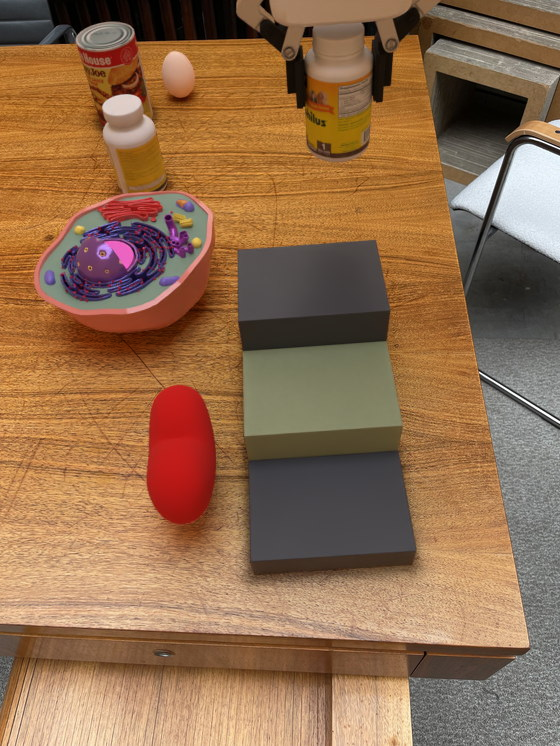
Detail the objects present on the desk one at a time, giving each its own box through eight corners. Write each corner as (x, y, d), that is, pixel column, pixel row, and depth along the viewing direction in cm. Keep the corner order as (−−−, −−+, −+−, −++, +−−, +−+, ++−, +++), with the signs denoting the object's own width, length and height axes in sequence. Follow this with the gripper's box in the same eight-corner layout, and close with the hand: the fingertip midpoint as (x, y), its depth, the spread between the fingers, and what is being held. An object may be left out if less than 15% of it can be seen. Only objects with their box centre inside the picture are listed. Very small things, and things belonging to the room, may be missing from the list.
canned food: (90, 118, 95) (64, 36, 86) (134, 97, 98) (114, 16, 88) (118, 139, 91) (94, 56, 82) (163, 117, 94) (145, 34, 85)
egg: (173, 108, 96) (164, 64, 90) (161, 93, 98) (152, 50, 93) (202, 98, 97) (195, 54, 91) (190, 84, 99) (182, 41, 94)
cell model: (260, 281, 72) (251, 199, 63) (131, 396, 64) (99, 320, 55) (157, 224, 79) (136, 143, 70) (28, 320, 71) (-15, 243, 62)
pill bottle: (177, 189, 84) (158, 106, 74) (132, 208, 82) (108, 126, 72) (154, 166, 87) (134, 84, 78) (111, 184, 85) (85, 102, 76)
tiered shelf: (369, 318, 68) (376, 239, 59) (412, 564, 52) (430, 506, 43) (248, 327, 68) (237, 249, 60) (253, 575, 52) (239, 518, 43)
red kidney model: (165, 437, 60) (141, 374, 53) (222, 431, 61) (207, 367, 53) (161, 555, 53) (132, 504, 45) (225, 549, 53) (208, 496, 45)
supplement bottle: (297, 138, 58) (291, 20, 49) (354, 123, 58) (357, 5, 50) (319, 172, 54) (317, 52, 46) (379, 156, 55) (387, 35, 47)
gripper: (194, -158, 36) (234, 130, 51) (499, -186, 36) (451, 114, 50) (201, -191, 41) (235, 82, 55) (470, -217, 40) (434, 66, 55)
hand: (338, 95), depth 52 cm, fingers closed on supplement bottle, 5 cm apart
